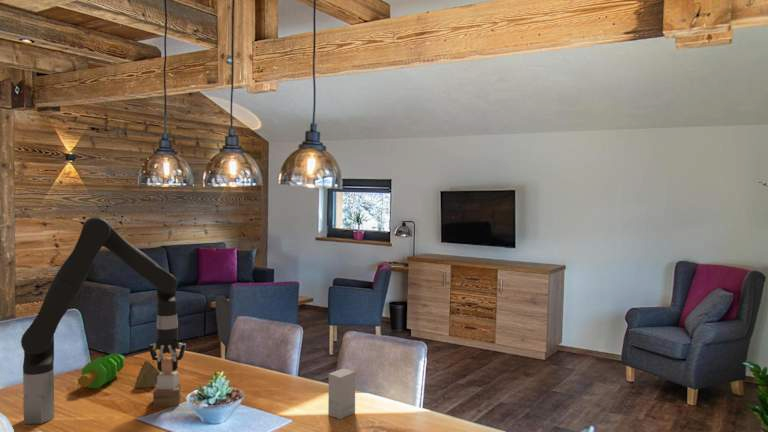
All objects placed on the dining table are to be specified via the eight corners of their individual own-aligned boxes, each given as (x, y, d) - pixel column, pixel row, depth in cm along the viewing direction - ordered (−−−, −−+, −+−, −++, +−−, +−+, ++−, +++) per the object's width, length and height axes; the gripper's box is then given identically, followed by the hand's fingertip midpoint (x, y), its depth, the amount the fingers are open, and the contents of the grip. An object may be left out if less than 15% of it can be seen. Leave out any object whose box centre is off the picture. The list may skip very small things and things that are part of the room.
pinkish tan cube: (172, 373, 226) (172, 360, 226) (159, 373, 226) (159, 360, 226) (175, 369, 231) (175, 356, 231) (163, 369, 230) (163, 356, 230)
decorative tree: (76, 362, 236) (117, 340, 266) (67, 388, 238) (108, 363, 267) (102, 374, 235) (140, 350, 265) (92, 400, 237) (131, 373, 267)
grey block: (173, 389, 226) (173, 376, 225) (157, 389, 226) (157, 376, 225) (178, 384, 232) (178, 371, 231) (163, 384, 232) (163, 371, 231)
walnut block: (179, 405, 226) (178, 390, 225) (153, 407, 223) (153, 391, 223) (180, 397, 234) (180, 382, 234) (156, 399, 232) (155, 384, 232)
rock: (172, 377, 250) (153, 371, 254) (164, 365, 244) (146, 359, 248) (155, 399, 243) (136, 392, 247) (146, 387, 237) (128, 380, 241)
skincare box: (343, 408, 223) (343, 367, 223) (356, 413, 219) (356, 371, 218) (327, 415, 217) (327, 372, 216) (340, 420, 213) (340, 376, 212)
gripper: (144, 328, 223) (145, 374, 224) (184, 328, 224) (184, 373, 225) (151, 324, 231) (151, 367, 232) (189, 323, 232) (189, 367, 233)
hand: (167, 370), depth 228 cm, fingers closed on pinkish tan cube, 4 cm apart
